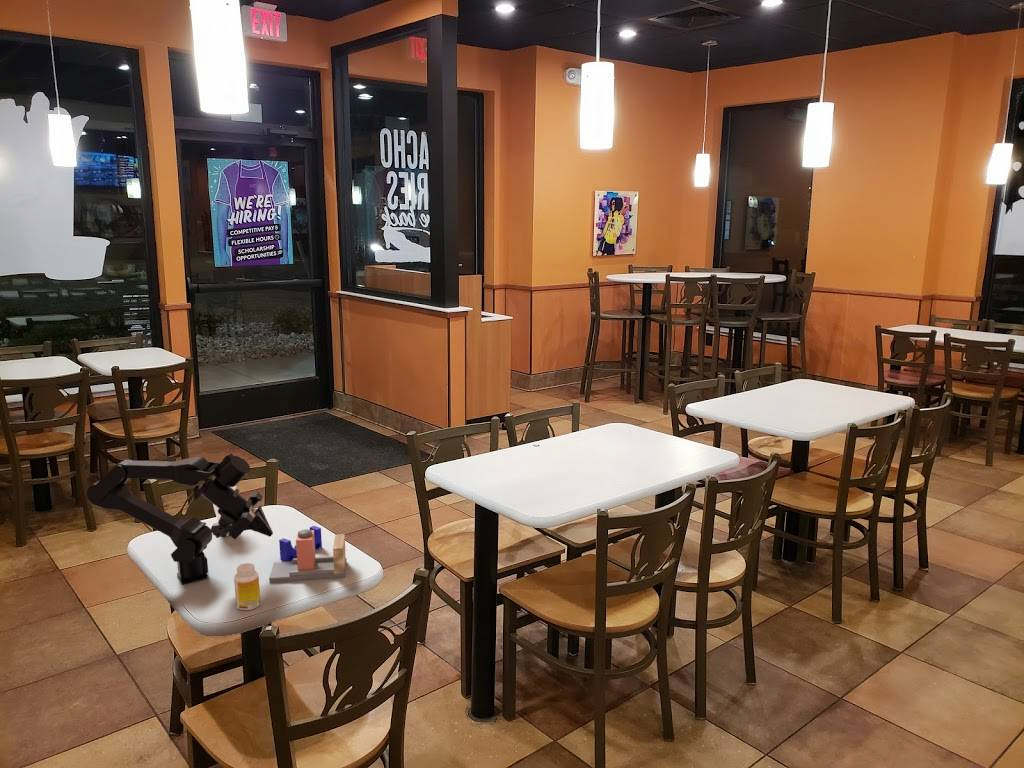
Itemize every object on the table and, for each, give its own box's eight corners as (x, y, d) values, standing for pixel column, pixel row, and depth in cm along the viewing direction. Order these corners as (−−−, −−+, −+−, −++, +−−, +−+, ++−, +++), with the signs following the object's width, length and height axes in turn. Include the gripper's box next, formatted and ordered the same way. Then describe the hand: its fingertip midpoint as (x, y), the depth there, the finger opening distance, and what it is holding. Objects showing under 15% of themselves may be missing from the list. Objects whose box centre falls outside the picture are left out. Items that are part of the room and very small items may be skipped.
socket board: (269, 582, 196) (268, 574, 196) (274, 566, 205) (273, 559, 204) (344, 577, 199) (344, 569, 199) (346, 561, 208) (346, 554, 207)
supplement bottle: (265, 605, 185) (262, 566, 183) (243, 613, 181) (240, 574, 179) (253, 597, 189) (250, 559, 186) (232, 605, 185) (228, 566, 182)
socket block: (334, 573, 198) (332, 548, 197) (336, 558, 207) (335, 534, 205) (343, 573, 199) (342, 548, 197) (345, 557, 207) (344, 534, 206)
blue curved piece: (311, 543, 219) (310, 524, 218) (321, 547, 217) (320, 528, 216) (277, 558, 210) (275, 538, 209) (287, 563, 207) (286, 542, 206)
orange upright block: (297, 572, 198) (295, 537, 196) (300, 562, 204) (298, 528, 202) (313, 571, 199) (311, 536, 197) (315, 561, 205) (313, 527, 202)
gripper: (210, 505, 203) (256, 541, 207) (193, 534, 185) (243, 573, 189) (239, 476, 202) (284, 512, 207) (224, 502, 184) (274, 541, 189)
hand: (271, 534), depth 198 cm, fingers closed
